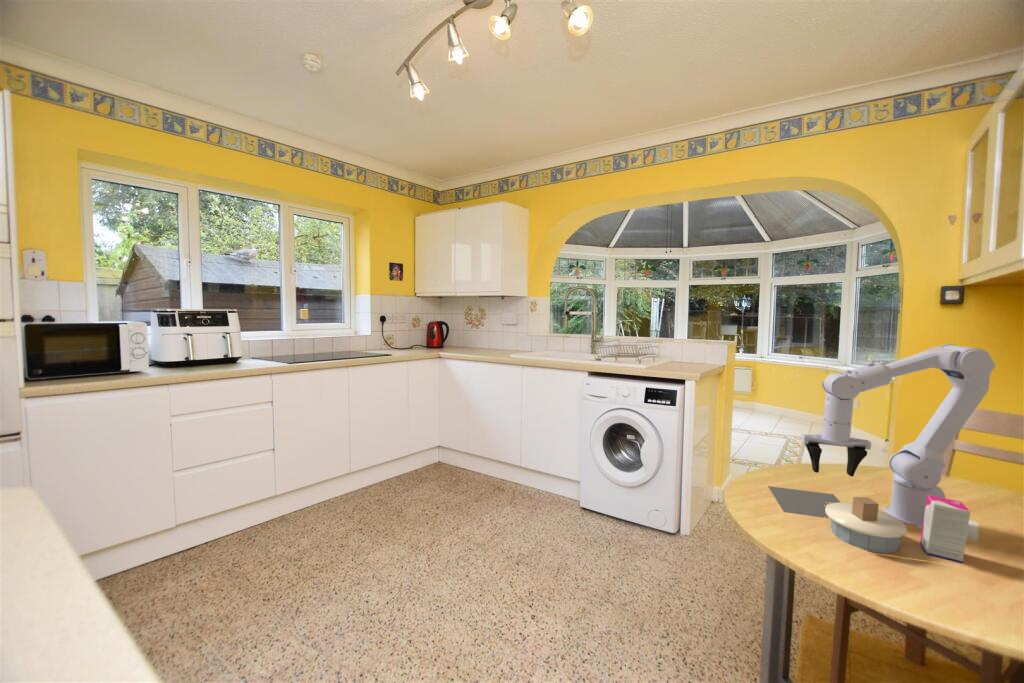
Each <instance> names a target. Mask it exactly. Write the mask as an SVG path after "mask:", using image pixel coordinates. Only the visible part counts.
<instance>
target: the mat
mask: <svg viewBox="0 0 1024 683" xmlns="http://www.w3.org/2000/svg"><path fill="white" fill-rule="evenodd" d="M768 488H769V490H770V492H771V494H772V495H773V497H774V499H775V500H776V502H777V503H778V505H779V506H780V508H781V509H782V511H783V513H789V514H795V515H796V514H797V515H803V516H804V515H805V516H810V517H811V516H812V517H818V518H824V517H826V518H825V519H829V518H828V516H827V515H826V513H825V507H826V505H827V504H829V503H830V502H831V503H842V502H841V501H840V500H839V499H838V498H837V497H836V496H835V494H834V493H827V492H821V491H820V492H819V491H809V490H803V489H795V488H794V489H793V488H788V487H778V486H772V485H769V486H768ZM826 502H827V503H826ZM828 502H829V503H828ZM831 503H830V504H831ZM824 505H825V506H824Z"/></svg>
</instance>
